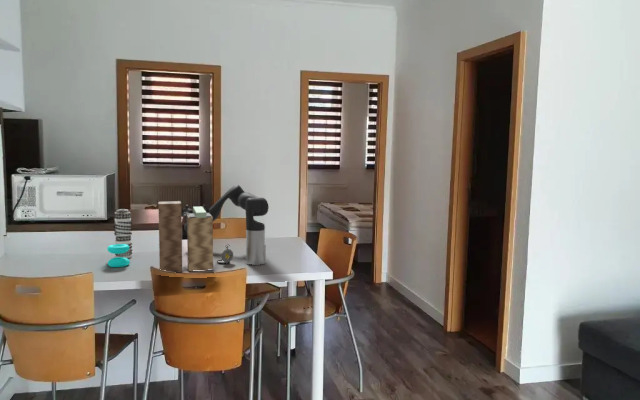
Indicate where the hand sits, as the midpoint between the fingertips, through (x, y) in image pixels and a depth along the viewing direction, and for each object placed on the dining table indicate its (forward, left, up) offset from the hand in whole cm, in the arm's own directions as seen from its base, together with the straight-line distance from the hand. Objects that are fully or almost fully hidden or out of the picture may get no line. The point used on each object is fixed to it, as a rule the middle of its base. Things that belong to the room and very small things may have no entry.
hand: (195, 206), depth 254 cm
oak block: (-1, +19, -28) cm, 33 cm away
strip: (-1, +17, -2) cm, 17 cm away
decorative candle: (+36, -17, -28) cm, 49 cm away
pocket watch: (-13, +11, -28) cm, 33 cm away
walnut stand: (+13, +18, -28) cm, 35 cm away
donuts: (+37, +3, -28) cm, 46 cm away
